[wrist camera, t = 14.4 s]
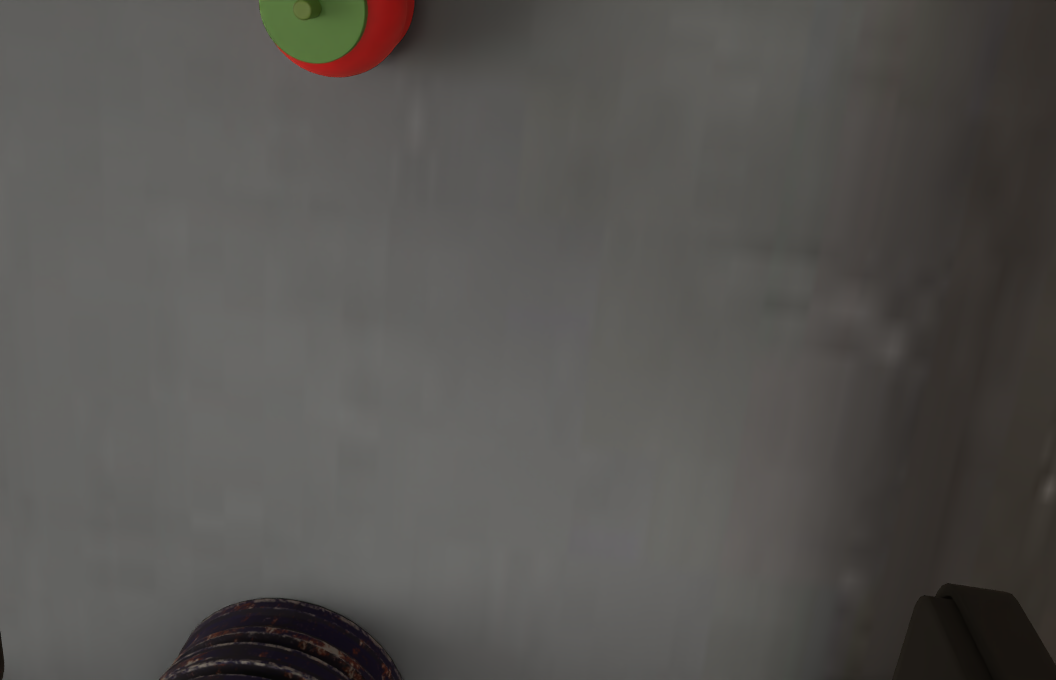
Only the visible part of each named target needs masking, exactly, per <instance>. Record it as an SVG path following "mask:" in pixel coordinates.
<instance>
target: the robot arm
mask: <svg viewBox="0 0 1056 680" xmlns="http://www.w3.org/2000/svg"><path fill="white" fill-rule="evenodd" d="M3 672H4V657H3V649H2V641H1V633H0V680H2V678H3ZM892 680H1056V665H1055V663H1054V662H1053V660H1052V658H1051V657H1050V655H1049V653H1048V651H1047V650H1046V648H1045V646H1044V645H1043V643H1042V641H1041V640H1040V638H1039V636H1038V634H1037V633H1036V631H1035V629H1034V628H1033V626H1032V624H1031V623H1030V621H1029V619H1028V618H1027V616H1026V614H1025V612H1024V611H1023V609H1022V607H1021V606H1020V604H1019V602H1018V601H1017V600H1016V598H1015V597H1014V596H1013V595H1012V594H1010V593H1007V592H1003V591H996V590H989V589H983V588H976V587H969V586H963V585H956V584H949V583H947V584H945V585H943V586H942V587H941V588H940V589H939V590H938V592H937V594H936V596H935V597H931V596H925V595H924V596H922V597H920V598H919V600H918V601H917V603H916V605H915V608H914V610H913V614H912V617H911V620H910V623H909V627H908V630H907V633H906V636H905V640H904V643H903V646H902V649H901V653H900V656H899V659H898V663H897V666H896V669H895V672H894V676H893V679H892Z"/></svg>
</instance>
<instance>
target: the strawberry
mask: <svg viewBox="0 0 1056 680" xmlns="http://www.w3.org/2000/svg"><path fill="white" fill-rule="evenodd" d="M259 7H260V13H261V18H262V21H263V24H264V26H265V28H266V31H267V32H268V34H269V36H270V37H271V39H272V40H273V41H274V43H275V44H276V45H277V47H278V48H279V49H280V50H281V51H282V52H283V53H284V54H285V56H286V57H288V58H289V59H290V60H291V61H292V62H294V63H295V64H297V65H298V66H300V67H301V68H303V69H306V70H308V71H310V72H313V73H315V74H318V75H323V76H328V77H348V76H353V75H357V74H361V73H363V72H366V71H368V70H370V69H372V68H374V67H375V66H377V65H378V64H379V63H381V62H382V61H383V60H384V59H385V58H386V57H387V56H388V55H389V54H390V53H391V52H392V50H393V49H394V48H395V46H396V45H397V44H398V43H399V42H400V41H401V40H402V38H403V37H404V36H405V34H406V32H407V30H408V28H409V26H410V23H411V21H412V17H413V12H414V0H259Z"/></svg>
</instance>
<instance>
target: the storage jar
mask: <svg viewBox="0 0 1056 680" xmlns="http://www.w3.org/2000/svg"><path fill="white" fill-rule="evenodd" d="M159 680H401V677H400V674H399V672H398V670H397V669H396V667H395V665H394V663H393V661H392V660H391V658H390V657H389V656H388V654H387V653H386V652H385V651H384V649H383V648H382V647H381V646H380V645H379V644H378V643H377V642H376V641H375V640H374V639H373V638H372V637H371V636H370V635H369V634H368V633H366V632H365V631H364V630H362V629H361V628H360V627H358V626H357V625H356V624H354V623H353V622H351V621H349V620H347V619H345V618H344V617H342V616H340V615H338V614H336V613H334V612H331V611H329V610H326V609H324V608H322V607H319V606H315V605H312V604H308V603H304V602H300V601H293V600H286V599H257V600H250V601H244V602H240V603H237V604H234V605H230V606H228V607H226V608H223V609H221V610H219V611H217V612H215V613H214V614H212V615H211V616H209V617H208V618H207V619H205V620H204V621H202V622H201V624H200V625H199V626H198V627H197V628H196V629H195V630H194V631H193V632H192V634H191V635H190V637H189V639H188V640H187V642H186V643H185V645H184V647H183V648H182V650H181V652H180V654H179V656H178V658H177V659H176V660H175V661H174V662H173V664H172V666H171V667H170V668H169V669H168V670H167V671H166V672H165V673H164V674H163V675H162V676H161V677H160V679H159Z"/></svg>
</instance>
